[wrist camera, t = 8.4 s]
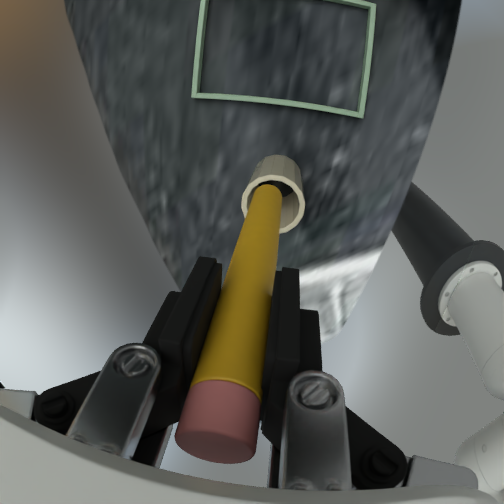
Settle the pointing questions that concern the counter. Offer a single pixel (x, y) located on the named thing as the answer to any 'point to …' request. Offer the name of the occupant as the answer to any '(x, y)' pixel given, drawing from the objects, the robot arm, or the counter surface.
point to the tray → (348, 0)
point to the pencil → (235, 345)
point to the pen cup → (287, 173)
